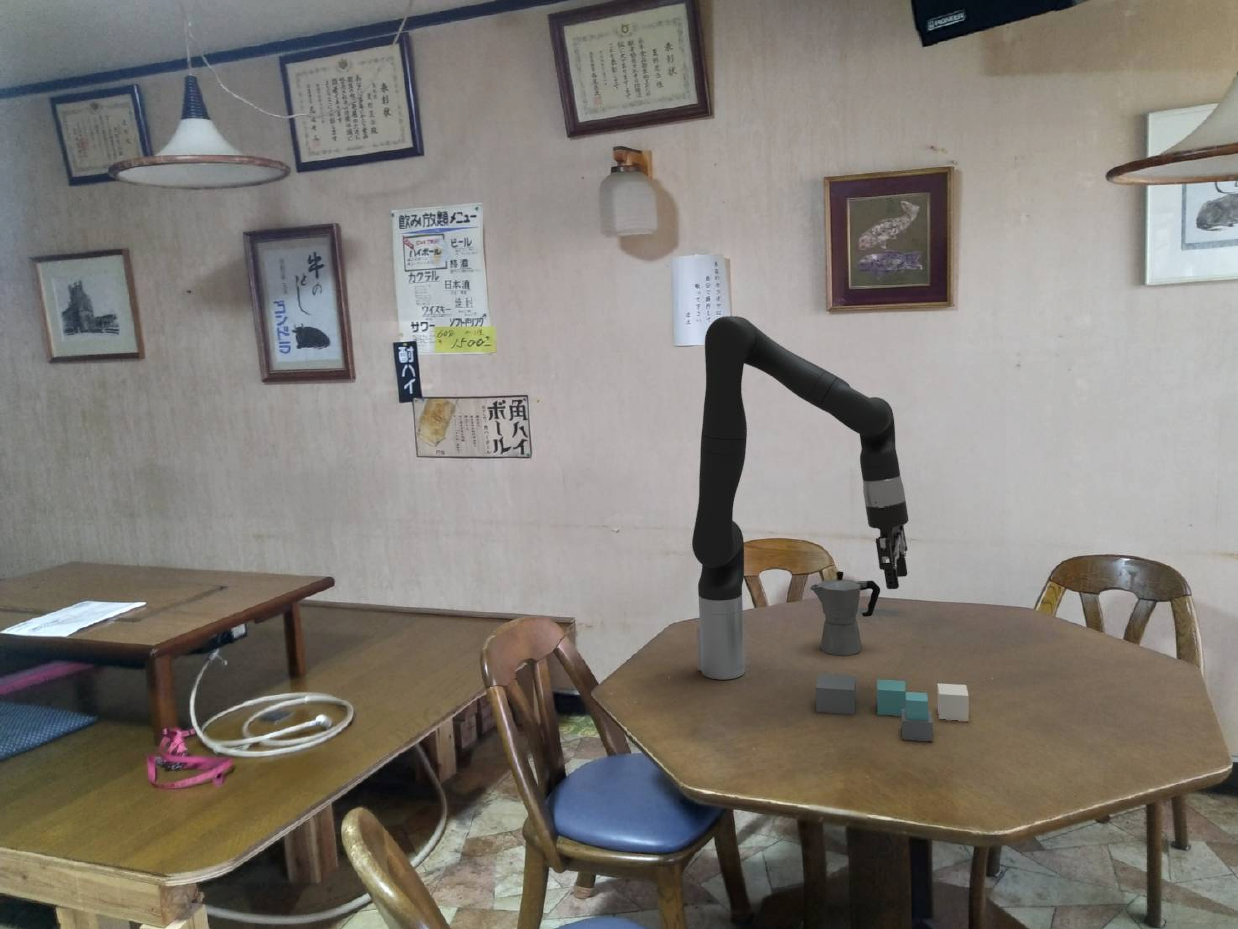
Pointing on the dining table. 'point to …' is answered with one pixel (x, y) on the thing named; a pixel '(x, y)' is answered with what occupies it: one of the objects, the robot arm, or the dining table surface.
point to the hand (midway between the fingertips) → (897, 582)
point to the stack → (917, 718)
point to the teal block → (891, 697)
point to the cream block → (953, 702)
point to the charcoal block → (836, 694)
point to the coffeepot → (843, 613)
